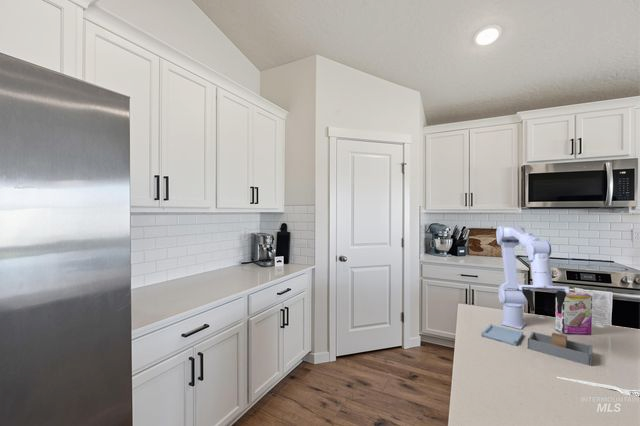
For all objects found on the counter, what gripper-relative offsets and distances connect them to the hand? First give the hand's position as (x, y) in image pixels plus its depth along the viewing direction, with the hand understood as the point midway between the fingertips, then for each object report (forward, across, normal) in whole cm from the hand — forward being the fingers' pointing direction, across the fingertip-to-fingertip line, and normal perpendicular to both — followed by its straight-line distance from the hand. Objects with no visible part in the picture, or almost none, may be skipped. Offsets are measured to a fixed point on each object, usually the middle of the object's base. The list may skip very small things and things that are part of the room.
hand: (546, 312), depth 103 cm
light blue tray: (+11, -17, +9) cm, 22 cm away
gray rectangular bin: (+14, +1, +8) cm, 16 cm away
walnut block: (+14, +1, +8) cm, 16 cm away
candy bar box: (+9, +3, +34) cm, 35 cm away
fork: (+19, +12, -9) cm, 24 cm away
